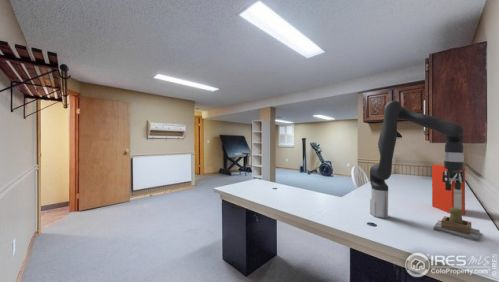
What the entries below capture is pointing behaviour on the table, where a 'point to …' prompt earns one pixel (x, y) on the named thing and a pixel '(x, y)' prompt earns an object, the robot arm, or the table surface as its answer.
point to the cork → (456, 215)
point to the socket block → (457, 229)
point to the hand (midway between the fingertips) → (453, 190)
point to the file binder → (446, 191)
